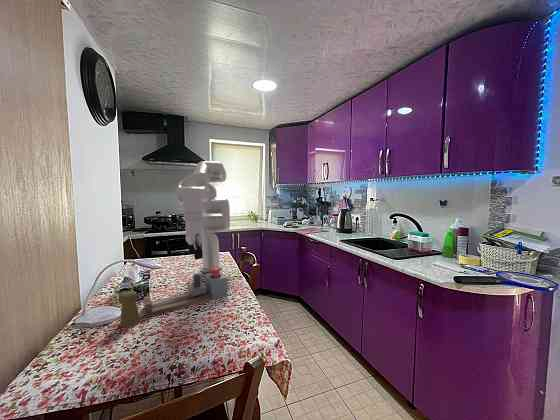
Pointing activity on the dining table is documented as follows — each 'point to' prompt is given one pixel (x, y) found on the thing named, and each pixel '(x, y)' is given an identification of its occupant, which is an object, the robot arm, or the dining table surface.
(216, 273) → the button
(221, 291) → the end cabinet
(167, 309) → the board
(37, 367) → the dining table surface
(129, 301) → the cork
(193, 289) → the carriage
